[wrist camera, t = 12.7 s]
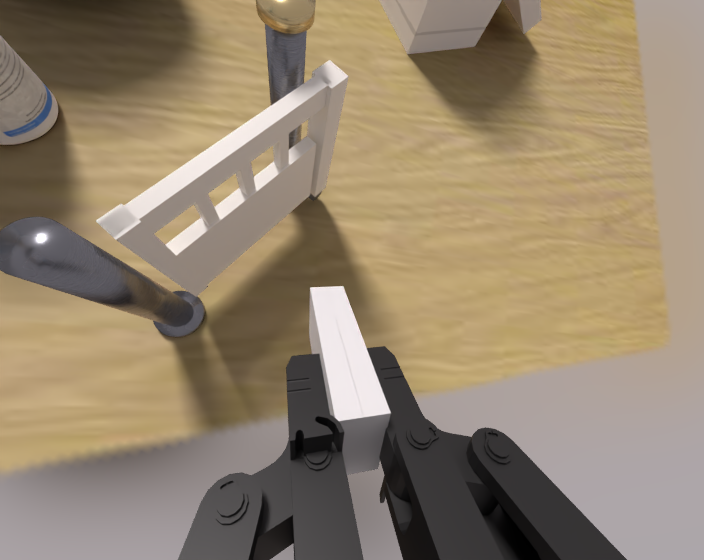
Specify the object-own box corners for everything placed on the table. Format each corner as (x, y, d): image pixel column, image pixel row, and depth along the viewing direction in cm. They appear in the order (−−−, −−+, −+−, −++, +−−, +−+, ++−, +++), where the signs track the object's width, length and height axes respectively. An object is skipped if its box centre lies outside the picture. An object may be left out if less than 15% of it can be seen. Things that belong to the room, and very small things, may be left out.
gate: (204, 303, 33) (118, 242, 16) (191, 291, 33) (92, 218, 16) (323, 196, 40) (348, 76, 23) (312, 186, 40) (329, 60, 23)
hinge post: (153, 338, 31) (-51, 301, 13) (156, 293, 33) (-24, 197, 14) (204, 335, 32) (87, 295, 14) (205, 291, 34) (99, 199, 15)
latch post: (268, 194, 39) (247, 17, 19) (267, 162, 40) (246, -37, 20) (307, 195, 40) (325, 28, 20) (305, 163, 41) (320, -24, 21)
